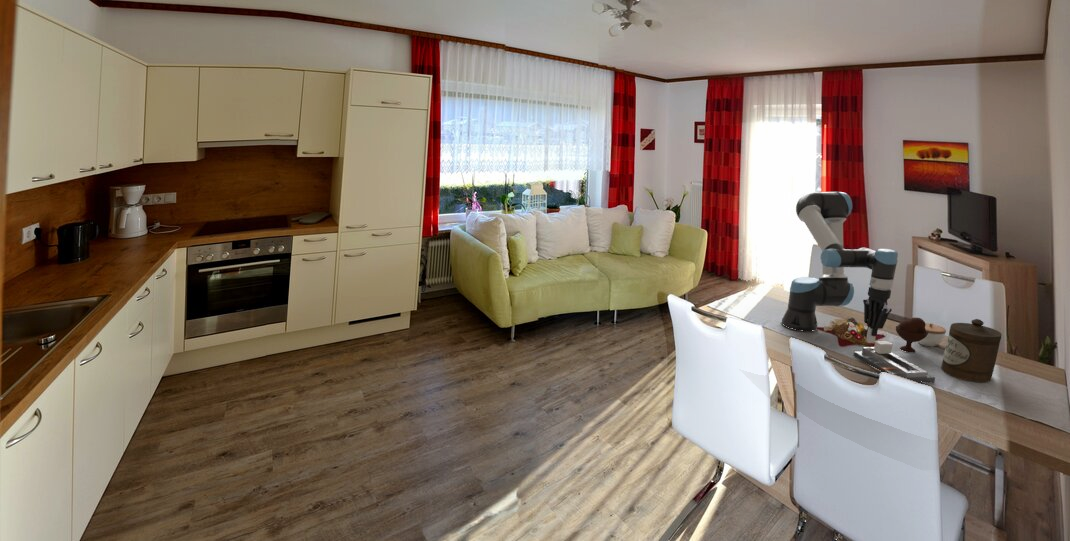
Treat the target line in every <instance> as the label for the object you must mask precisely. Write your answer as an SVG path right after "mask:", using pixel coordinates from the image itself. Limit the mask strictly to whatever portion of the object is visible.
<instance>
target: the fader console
mask: <svg viewBox="0 0 1070 541" xmlns="http://www.w3.org/2000/svg"><path fill="white" fill-rule="evenodd" d="M887 354H889V358H888V359H887V358H886V357H884V356H882V355H880V354H879V353H877V352H875V351H874V346H866V347H865V346H864V347H862V349H861V351H853V357H854V356H855V358H856V359H858V360H860V362H862V361H863V362H862V363H864V362H865V363H864V364H866V363H867V364H869V365H871V366H873V367H875V368H877V369H879V370H881V372H887V373H892V374H894V375H897V376H901V377H904V378H907V379H910V380H913V381H916V382H920V383H919V384H923V383H922V382H926V383H927V382H928V383H930V382H932V383H935V380H936V377H935V376H933V375H931V374H929V373H928V371H926V370H924V369H922V368H921V367H919V366H917V365H915V364H913V363H912V362H910V361H908V360H907V359H904V358H902V357H901V356H900V355H898V354H895V353H893V352H892V351H891V353H887ZM867 364H866V365H867ZM869 365H868V366H869ZM871 366H870V367H871ZM921 381H922V382H921ZM928 383H927V384H928Z"/></svg>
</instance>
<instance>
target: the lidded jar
mask: <svg viewBox="0 0 1070 541" xmlns="http://www.w3.org/2000/svg"><path fill="white" fill-rule="evenodd" d="M925 329H926V331H928V332H929V333H928V335H927V336H926V337H925V338H924V339H922V340H920V341H918V344H920V345H922V346H925V347H936V346H937V345H939V344H941V343H942V341H943V340H944V338H945V336H946V332H947V329H946V328H945V327H943V326H942V325H941V326H940V325H937V324H934V323H932V322H930V323H928V322H925Z"/></svg>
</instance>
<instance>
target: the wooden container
mask: <svg viewBox="0 0 1070 541" xmlns="http://www.w3.org/2000/svg"><path fill="white" fill-rule="evenodd" d="M970 322H971V323H969V322H968V323H967V322H953V323H951V324H950V327H949V331H948V332H949V333H948V336H947V340H946V341H947V342H946V345H945V349H944V352H943V357H942V361H941V366H940V368H941V369H940V370H941V371H943V372H944V373H945V374H947V375H949V376H951V377H953V378H957V379H959V380H963V381H966V382H967V381H968V382H972V381H973V382H974V383H988V382H990V381H992V378H993V374H994V370H995V365H996V363H997V362H996V361H997V357H998V352H999V348H1000V344H1001V340H1002V333H1001V332H1000V331H998V329H996V328H991V327H989V326H984V325H985V324H984V323H985V322H984V321H983V320H981V319H979V318H975V319H972V320H971V321H970ZM973 382H972V383H973Z"/></svg>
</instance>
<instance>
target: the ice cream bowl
mask: <svg viewBox="0 0 1070 541" xmlns="http://www.w3.org/2000/svg"><path fill="white" fill-rule="evenodd" d="M925 323H926V322H925V321H924V320H923V318H921V317H912V318H909V319H908V318H907V319H903V320H902V321H901V322H900V323H899V324H897V325H896V326H895V330H896V334H897V335H898V337H899V338H901V339H902V340H904V342H905V341H906V343H905V345H904V346H903V345H902V346H900V347H899V350H900V349H901V351H902V350H903V351H902V352H904V351H906V352H905V353H909V352H913V353H912V354H914V353H916V351H917V350H915V348H914V347H912V344H913V343H917V342H918V341H920V340H922V339H924V338H925V337H926V336H927V335H928V333H929V332H928V331H926V329H925ZM918 343H919V342H918Z"/></svg>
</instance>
